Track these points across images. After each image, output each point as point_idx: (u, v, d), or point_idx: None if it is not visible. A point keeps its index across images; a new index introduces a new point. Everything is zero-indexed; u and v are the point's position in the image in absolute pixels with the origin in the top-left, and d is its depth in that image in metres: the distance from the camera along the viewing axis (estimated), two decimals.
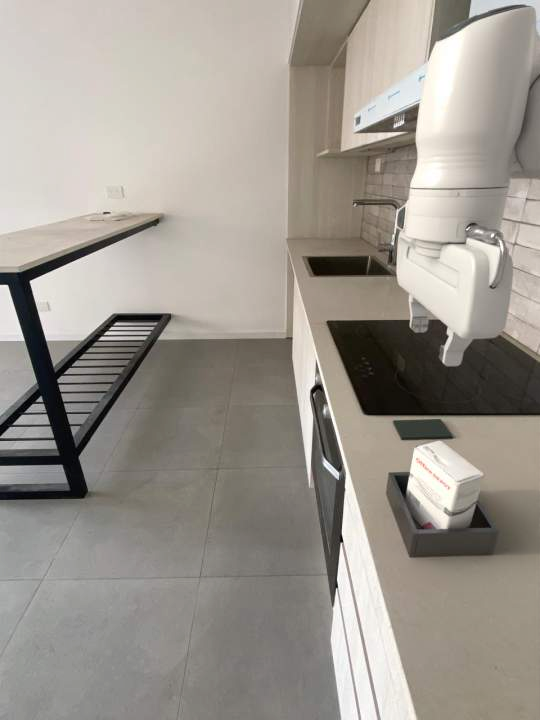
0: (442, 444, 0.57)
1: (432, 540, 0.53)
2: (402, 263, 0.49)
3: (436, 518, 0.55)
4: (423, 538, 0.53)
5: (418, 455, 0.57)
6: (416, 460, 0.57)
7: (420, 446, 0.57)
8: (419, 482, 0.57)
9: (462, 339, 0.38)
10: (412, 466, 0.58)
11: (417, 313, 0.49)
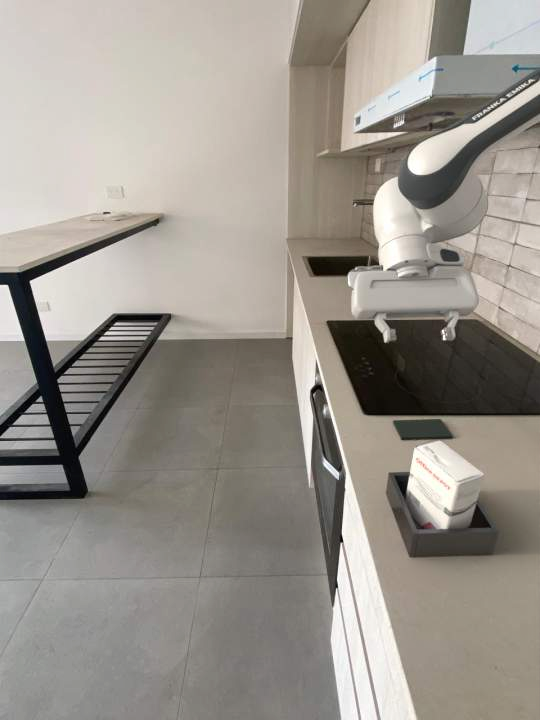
0: (442, 444, 0.57)
1: (432, 540, 0.53)
2: None
3: (436, 518, 0.55)
4: (423, 538, 0.53)
5: (418, 455, 0.57)
6: (416, 460, 0.57)
7: (420, 446, 0.57)
8: (419, 482, 0.57)
9: (376, 322, 0.64)
10: (412, 466, 0.58)
11: None
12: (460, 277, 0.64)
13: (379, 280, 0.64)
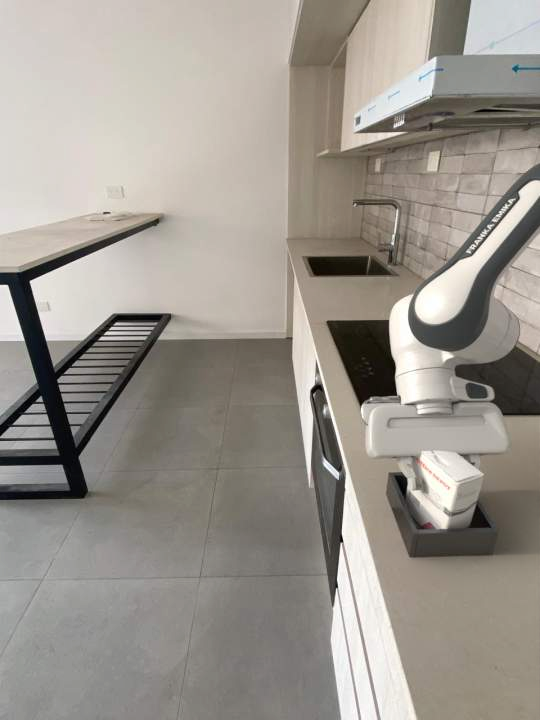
0: None
1: (432, 540, 0.53)
2: None
3: (436, 518, 0.55)
4: (423, 538, 0.53)
5: None
6: (416, 460, 0.57)
7: None
8: None
9: (400, 465, 0.57)
10: (412, 466, 0.58)
11: None
12: (488, 415, 0.57)
13: (396, 417, 0.58)
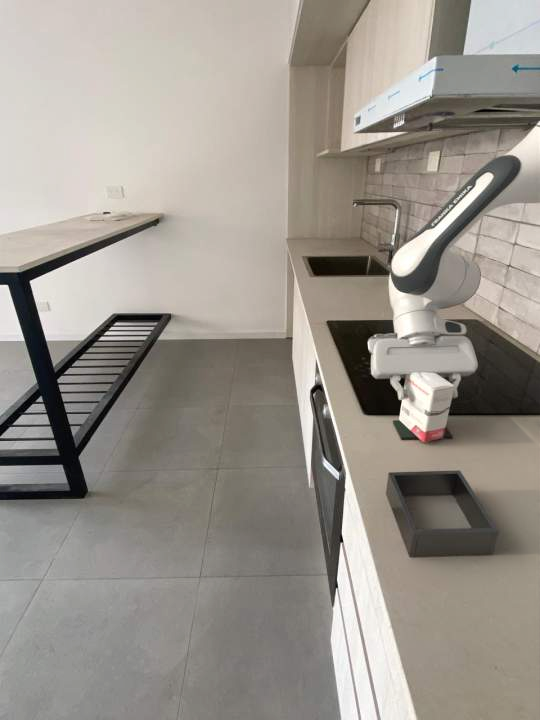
0: None
1: (432, 540, 0.53)
2: None
3: (420, 420, 0.75)
4: (423, 538, 0.53)
5: (409, 375, 0.77)
6: (407, 380, 0.78)
7: None
8: (409, 396, 0.78)
9: (392, 382, 0.77)
10: (405, 385, 0.79)
11: None
12: (462, 345, 0.78)
13: (394, 347, 0.78)
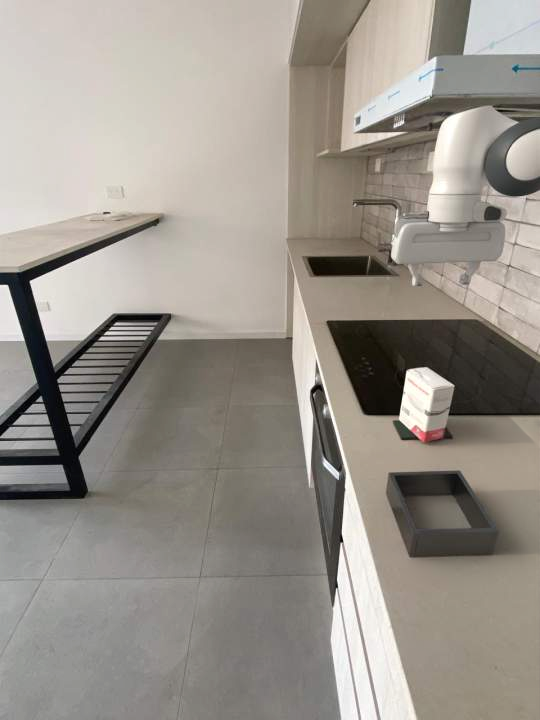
0: (428, 369, 0.78)
1: (432, 540, 0.53)
2: None
3: (420, 420, 0.75)
4: (423, 538, 0.53)
5: (409, 375, 0.77)
6: (407, 380, 0.78)
7: (411, 369, 0.77)
8: (409, 396, 0.78)
9: (409, 268, 0.77)
10: (405, 385, 0.79)
11: (466, 272, 0.78)
12: (494, 232, 0.72)
13: (421, 233, 0.73)
